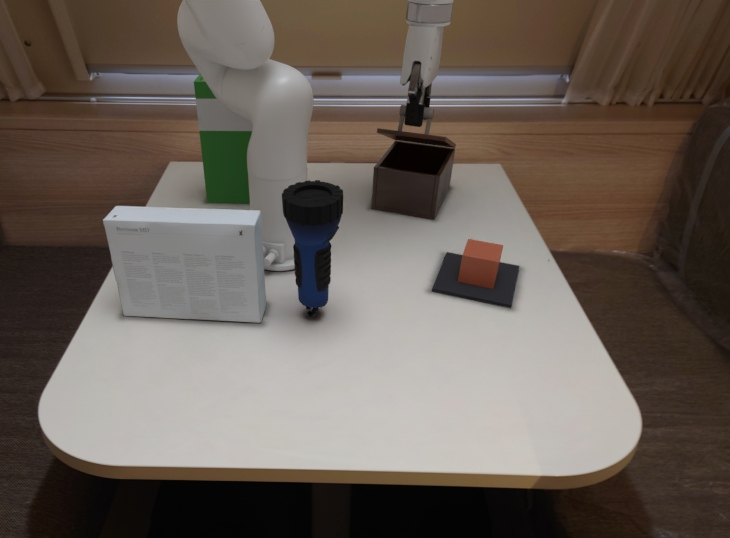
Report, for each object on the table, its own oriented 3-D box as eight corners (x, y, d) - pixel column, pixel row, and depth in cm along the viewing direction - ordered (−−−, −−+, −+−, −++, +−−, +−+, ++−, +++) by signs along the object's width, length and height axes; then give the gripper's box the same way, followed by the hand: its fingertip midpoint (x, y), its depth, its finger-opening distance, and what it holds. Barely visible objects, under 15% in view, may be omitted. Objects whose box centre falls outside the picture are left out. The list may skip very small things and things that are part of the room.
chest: (434, 219, 110) (439, 176, 105) (371, 208, 114) (373, 167, 110) (449, 188, 122) (455, 148, 117) (391, 179, 126) (395, 140, 121)
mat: (510, 308, 87) (511, 305, 86) (431, 291, 91) (432, 288, 90) (518, 268, 96) (519, 265, 95) (446, 254, 100) (446, 251, 99)
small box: (493, 289, 90) (499, 261, 87) (457, 281, 92) (462, 254, 89) (497, 271, 94) (503, 244, 91) (463, 264, 96) (468, 238, 93)
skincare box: (267, 302, 88) (262, 209, 79) (261, 324, 84) (255, 227, 75) (134, 295, 90) (114, 203, 81) (121, 316, 86) (99, 221, 77)
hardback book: (296, 188, 123) (293, 71, 109) (293, 204, 116) (291, 82, 103) (213, 187, 123) (201, 71, 110) (207, 202, 117) (193, 81, 104)
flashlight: (285, 333, 82) (281, 206, 71) (285, 301, 89) (282, 180, 77) (341, 332, 82) (346, 205, 71) (337, 300, 89) (341, 179, 77)
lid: (445, 141, 102) (451, 108, 101) (376, 132, 106) (381, 101, 105) (455, 148, 117) (460, 119, 116) (395, 140, 121) (399, 112, 120)
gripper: (418, 5, 104) (407, 107, 114) (393, 19, 92) (383, 132, 102) (460, 8, 102) (445, 112, 112) (440, 23, 89) (425, 138, 99)
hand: (416, 121), depth 107 cm, fingers open, 3 cm apart
